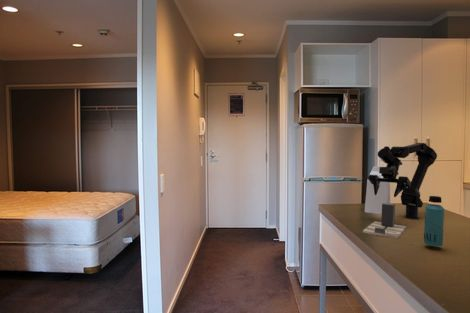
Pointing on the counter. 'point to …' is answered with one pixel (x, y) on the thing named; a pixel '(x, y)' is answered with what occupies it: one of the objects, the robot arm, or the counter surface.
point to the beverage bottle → (434, 223)
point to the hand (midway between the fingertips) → (384, 195)
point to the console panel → (385, 230)
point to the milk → (382, 196)
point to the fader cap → (388, 214)
